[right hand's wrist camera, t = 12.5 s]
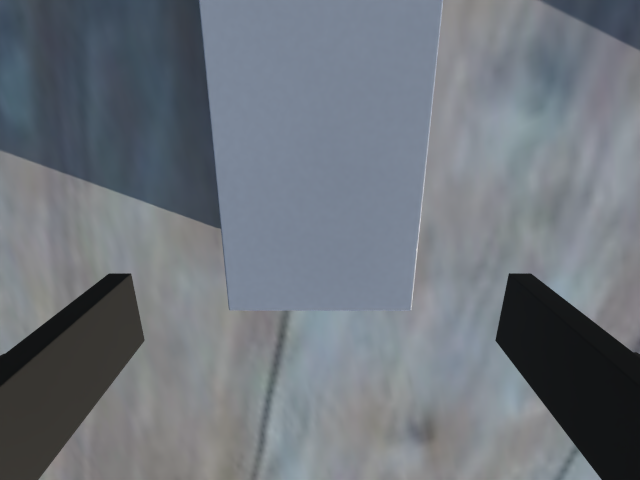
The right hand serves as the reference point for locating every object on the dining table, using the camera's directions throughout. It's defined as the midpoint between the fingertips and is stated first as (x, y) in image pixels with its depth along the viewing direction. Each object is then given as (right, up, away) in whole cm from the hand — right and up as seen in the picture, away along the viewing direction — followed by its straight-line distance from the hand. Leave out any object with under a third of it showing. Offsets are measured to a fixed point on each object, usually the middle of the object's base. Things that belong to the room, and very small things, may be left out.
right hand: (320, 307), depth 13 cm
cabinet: (0, +12, +13) cm, 18 cm away
